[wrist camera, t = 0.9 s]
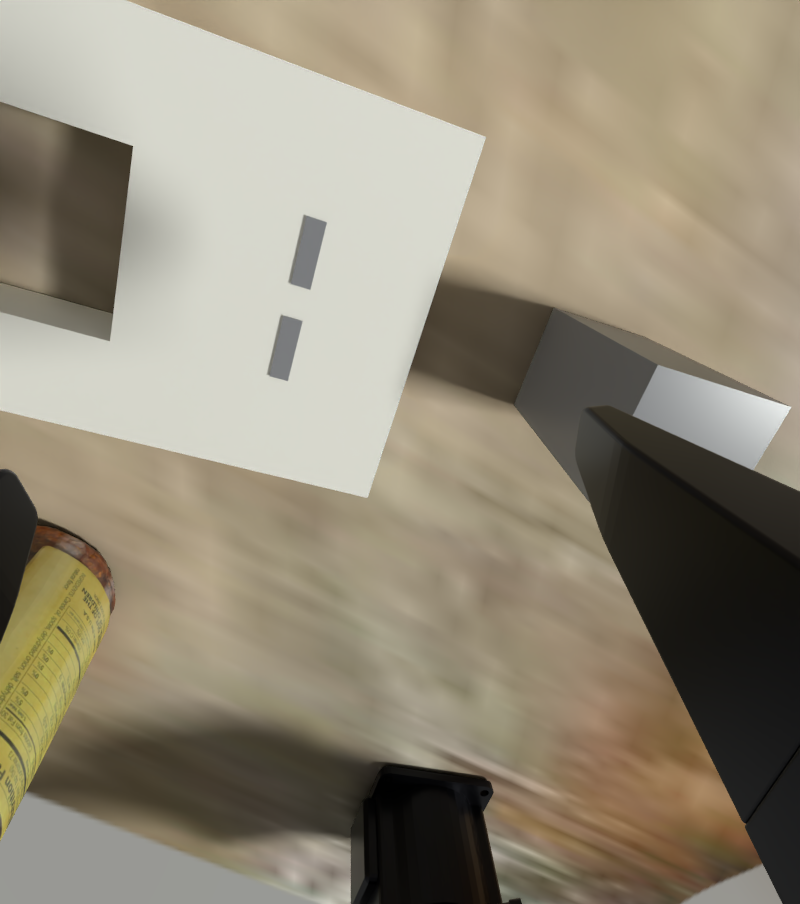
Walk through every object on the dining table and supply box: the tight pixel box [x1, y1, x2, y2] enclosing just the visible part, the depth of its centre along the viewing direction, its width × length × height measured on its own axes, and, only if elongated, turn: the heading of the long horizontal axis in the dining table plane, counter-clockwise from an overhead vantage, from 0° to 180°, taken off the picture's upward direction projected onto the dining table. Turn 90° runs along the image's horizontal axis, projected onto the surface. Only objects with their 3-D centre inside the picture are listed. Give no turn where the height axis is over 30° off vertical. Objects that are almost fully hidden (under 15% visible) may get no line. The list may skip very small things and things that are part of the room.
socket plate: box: [0, 0, 486, 498], centre depth 18 cm, size 18×12×3 cm, turn 72°
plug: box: [514, 308, 791, 502], centre depth 19 cm, size 4×4×8 cm
